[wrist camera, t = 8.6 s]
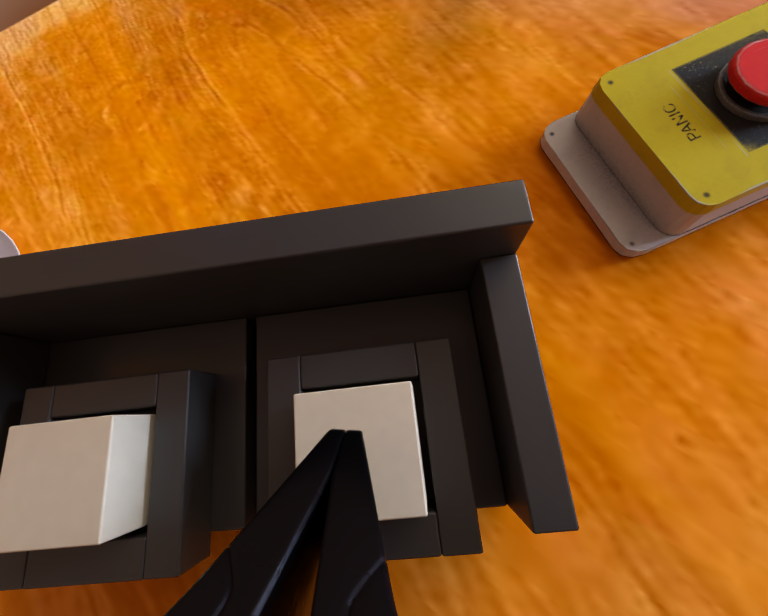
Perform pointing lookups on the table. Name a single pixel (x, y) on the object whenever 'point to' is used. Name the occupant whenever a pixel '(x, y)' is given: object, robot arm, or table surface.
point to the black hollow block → (311, 302)
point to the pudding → (7, 246)
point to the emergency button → (672, 137)
